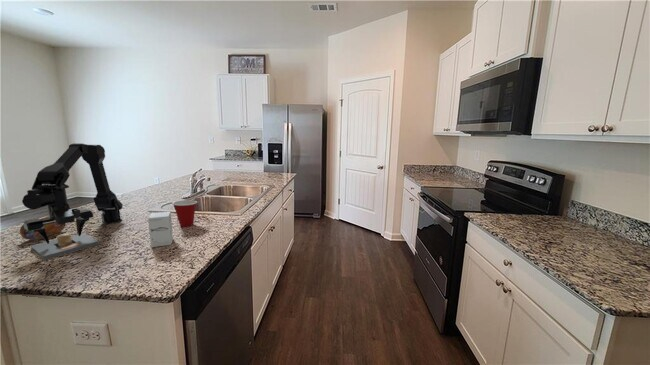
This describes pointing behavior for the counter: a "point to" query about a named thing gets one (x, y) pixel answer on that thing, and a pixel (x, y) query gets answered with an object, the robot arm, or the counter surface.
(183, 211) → the plastic cup
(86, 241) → the hole plate
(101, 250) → the counter surface
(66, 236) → the peg
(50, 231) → the tin
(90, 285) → the counter surface
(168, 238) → the supplement box
